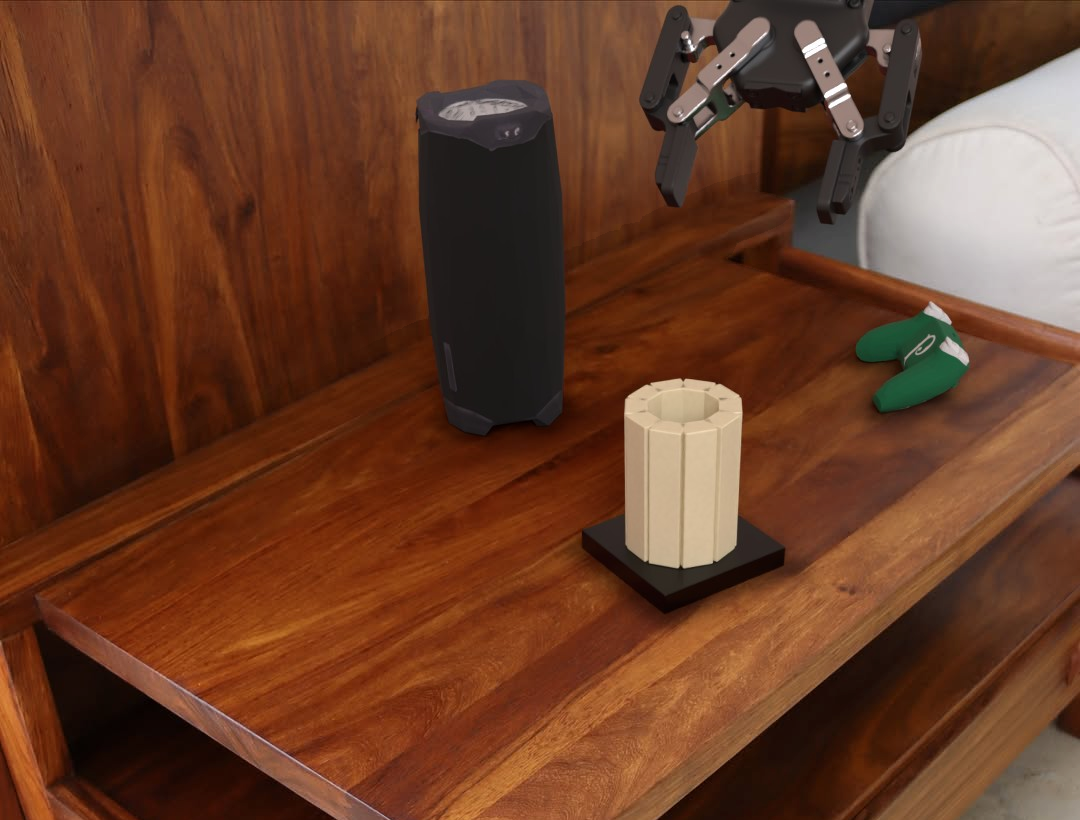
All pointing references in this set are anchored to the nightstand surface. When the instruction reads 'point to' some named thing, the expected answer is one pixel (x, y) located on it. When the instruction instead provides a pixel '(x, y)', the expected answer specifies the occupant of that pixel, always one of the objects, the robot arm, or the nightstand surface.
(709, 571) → the stand
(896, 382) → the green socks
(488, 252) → the portable speaker
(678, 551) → the cream hollow cylinder
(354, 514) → the nightstand surface
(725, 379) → the nightstand surface
